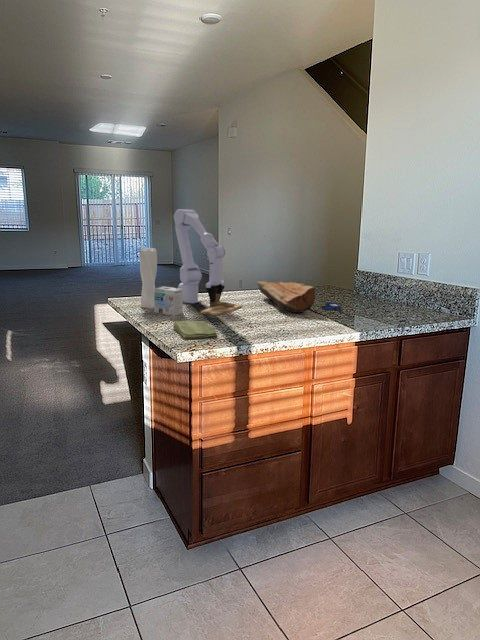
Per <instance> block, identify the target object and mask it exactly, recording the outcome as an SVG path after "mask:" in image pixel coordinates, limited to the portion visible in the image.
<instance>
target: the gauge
mask: <svg viewBox="0 0 480 640" xmlns="http://www.w3.org/2000/svg"><path fill="white" fill-rule="evenodd" d="M235 304H236V303H232V302H224V301H221V297H220V294H218V293H216V299H215V302H210V301H209V308H211V307H214V306H217V305H224V306H231V307H234V306H235Z"/></svg>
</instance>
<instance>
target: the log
mask: <svg viewBox="0 0 480 640" xmlns="http://www.w3.org/2000/svg"><path fill="white" fill-rule="evenodd" d="M257 286H258V287H257V288H258V289H259V290H258V291H260V293H261V294H263V295H264V296H265V297H266V298H267V299H270V300H271V301H272V302H274V303H275V304H276V305H277V306H279V307H280V309H287V310H289V311H290V312H292V313H300V312H304V311H308V310H309V309H311V308H312V306H313V305H314V304H315V300H316V290H315V289H316V288H315V287H314V286H311V285H307V284H306V283H304V282H302V283H297V282H295V281H290V282H285V281H279V282H269V281H259V280H258V281H257Z"/></svg>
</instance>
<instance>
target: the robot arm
mask: <svg viewBox="0 0 480 640" xmlns="http://www.w3.org/2000/svg"><path fill="white" fill-rule="evenodd" d="M173 220H174V224H175V226H174V227H175V234H176V239H177V243H178V248H179V251H180V253H179V254H180V257H181V262H182V266H180V268H179V279H180V281H181V282H180V283H179V284H178V286H177V288H179V289H183V303H185V304H186V303H187V304H196V303H200V302H202V300H200V299H199V284H200V282H201V280H202V278H203V275H202V271H201V270H200V268H199V267H200V266H199V265H198V264H196V263H195V260H194V256H193V251H192V247H191V242H190V237H189V232H188V231H189V230H190V228H191V227H192V228H193V229H194V231H196V233H197V234H198V235H199V236H200V242H201V243H202V245H203V247H204V248H205V250H206V254H207V257H208V262H209V273H208V275H209V279H208V282H207V283H205V289H206V292H207V294H208V298H209V303H210V302H215V299H216V293H218V294H220V298H221V296H222V293H223V291H224V289H225V280H223V279H222V277H223V258H224V257H225V255H226V249H225V248H224V245H220V244H219V243H218V242H217V241H216V239H215V238H214V235H213V234H212V233H210V232H207V231H206V229H205V227H204V225H203V223H202V222H201V221H200V219H199V214H198V212H197V211H196V210H195V209H184V208H183V209H182V208H178V209H176V211H175V212H174V214H173Z"/></svg>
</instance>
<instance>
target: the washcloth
mask: <svg viewBox="0 0 480 640" xmlns="http://www.w3.org/2000/svg"><path fill="white" fill-rule="evenodd" d="M172 328H173V330H175V332H177V333H178V334H179V335H180V336H181V337H182V338H183V339H184V340H189V339H190V340H191V339H201V338H203V339H204V338H216V337H218V333H217V331H216V329H215V328H214V327H212V326H211V325H209V324H208V323H207V322H205V321H201V320H200V321H193V320H192V321H175V322H174V324H173V326H172Z"/></svg>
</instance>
